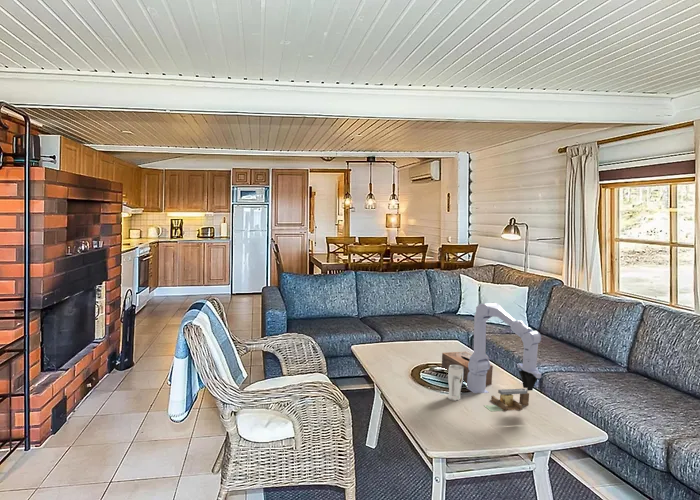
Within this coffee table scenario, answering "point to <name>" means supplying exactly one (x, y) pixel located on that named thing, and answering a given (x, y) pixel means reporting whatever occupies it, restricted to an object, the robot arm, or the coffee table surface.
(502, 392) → the lever
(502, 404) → the body
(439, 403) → the coffee table surface
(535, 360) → the robot arm
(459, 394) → the beer glass
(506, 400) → the tan cube
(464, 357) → the tissue box cover
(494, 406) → the pad
